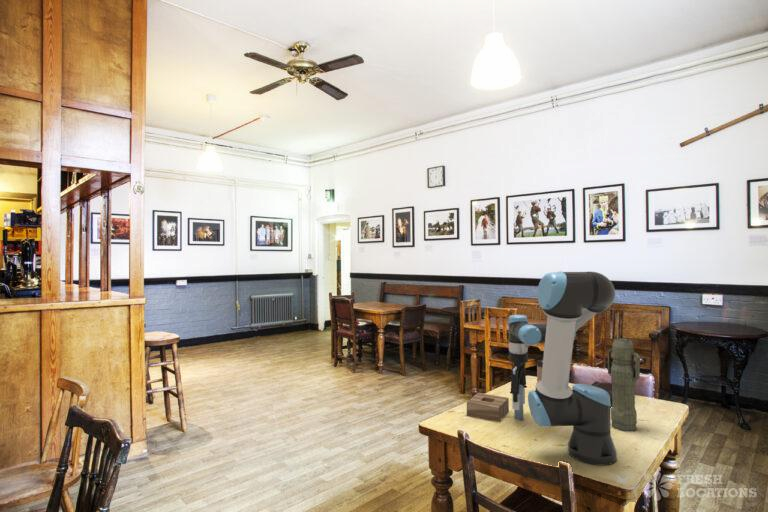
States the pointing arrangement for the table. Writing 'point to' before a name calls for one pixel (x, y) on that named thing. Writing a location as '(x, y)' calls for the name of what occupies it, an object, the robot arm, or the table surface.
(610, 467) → the table surface
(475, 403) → the bore block
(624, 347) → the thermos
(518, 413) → the dowel pin
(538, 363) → the travel mug
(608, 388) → the diary
